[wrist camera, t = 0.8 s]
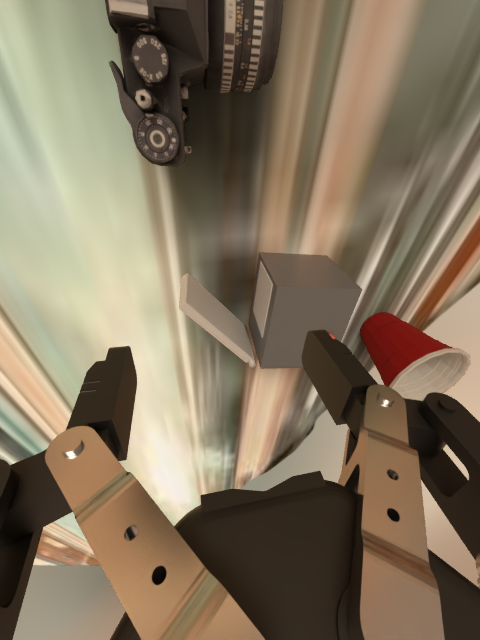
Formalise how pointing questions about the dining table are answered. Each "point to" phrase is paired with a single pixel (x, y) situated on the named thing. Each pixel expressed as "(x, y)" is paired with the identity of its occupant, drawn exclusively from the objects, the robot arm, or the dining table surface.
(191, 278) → the side door
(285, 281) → the camera body
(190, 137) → the dining table surface
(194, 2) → the camera
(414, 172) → the dining table surface
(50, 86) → the dining table surface
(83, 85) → the dining table surface
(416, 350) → the plastic cup
